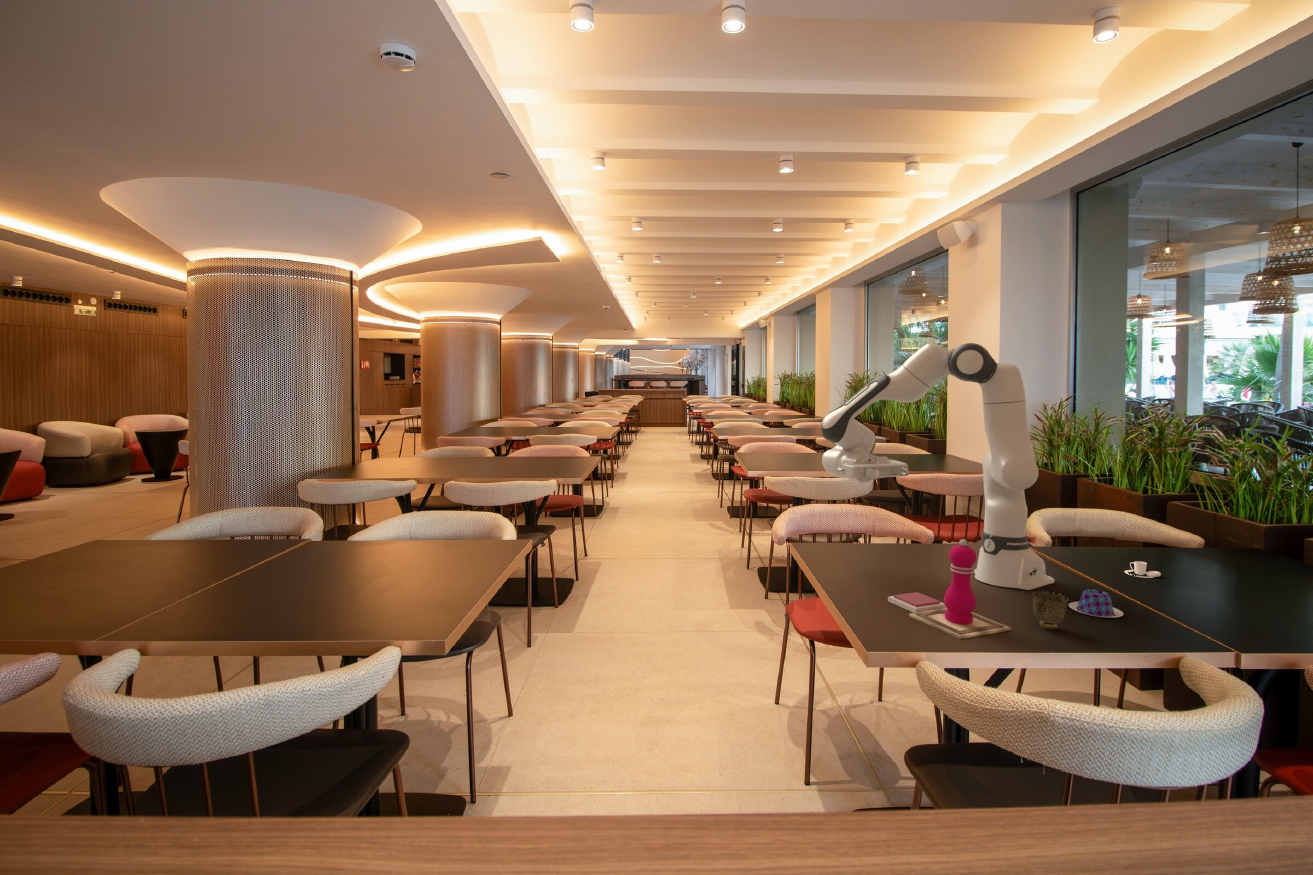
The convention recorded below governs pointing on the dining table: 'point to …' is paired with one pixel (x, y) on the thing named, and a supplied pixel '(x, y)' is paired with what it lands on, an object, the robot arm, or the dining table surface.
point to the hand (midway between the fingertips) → (894, 473)
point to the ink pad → (916, 602)
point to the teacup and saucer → (1142, 570)
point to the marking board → (959, 630)
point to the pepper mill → (960, 585)
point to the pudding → (1096, 604)
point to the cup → (1049, 608)
